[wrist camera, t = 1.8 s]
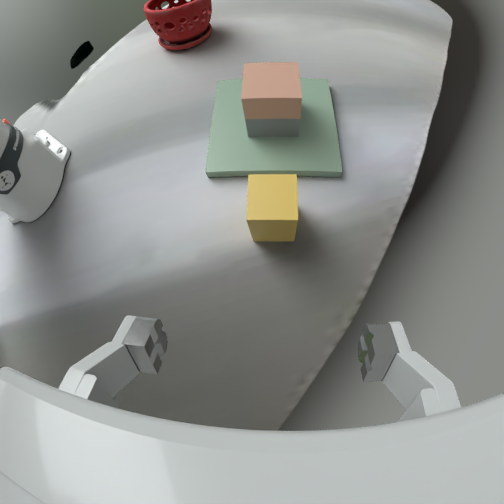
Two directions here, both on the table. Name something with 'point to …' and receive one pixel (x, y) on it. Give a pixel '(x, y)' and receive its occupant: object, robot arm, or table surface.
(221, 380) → the table surface
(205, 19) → the plant pot
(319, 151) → the baseplate tower
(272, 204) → the mustard brick
